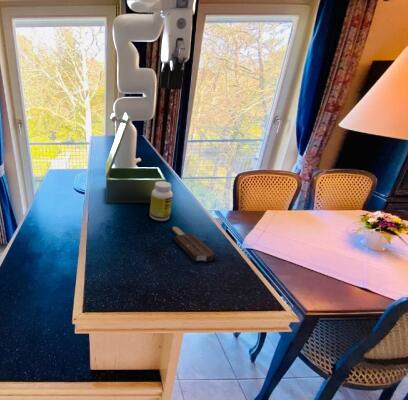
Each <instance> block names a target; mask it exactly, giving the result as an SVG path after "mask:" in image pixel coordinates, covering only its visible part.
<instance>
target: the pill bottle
mask: <svg viewBox="0 0 408 400" xmlns="http://www.w3.org/2000/svg"><path fill="white" fill-rule="evenodd" d="M171 189H172V184H171V182H167V181H166V182H164V181H159V182H156V183H155V189H154V190H153V191H152V195H151V203H150V206H149V217H150V218H151V219H153V220H155V221H160V222H164V221H165V222H166V221H167V220H169V219H170V217H171V210H172V202H173V195H174V194H173V191H172V190H171Z"/></svg>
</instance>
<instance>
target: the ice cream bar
mask: <svg viewBox="0 0 408 400" xmlns="http://www.w3.org/2000/svg"><path fill="white" fill-rule="evenodd" d="M171 229H172V231H173V232H174V233H175V234H176V235H174V238H173V240H174V242H175V243H176V244H177V245H178V246H179V247H180V248H181V249H182V250H183V251H184V252H185V253H186V254H187V256H189V257H190V258H191V260H192V261H193V262H200V261H202V262H205V263H208V262H211V261H213V260H214V258H215V252H214V251H213V250H212V249H211V248H210V247H209V246H208V245H207V244H205V243H204V242H203V241H202V240H201V239H200V238H199V237H198V236H196V234H194V233H193V232H190V233H184V231H182V230H181V229H180V228H179V227H177V226H172V228H171Z"/></svg>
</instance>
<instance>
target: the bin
mask: <svg viewBox="0 0 408 400" xmlns="http://www.w3.org/2000/svg"><path fill="white" fill-rule="evenodd" d="M159 181H164V182H167V180H166V178H165V175H164V174H163V173H162V171H161V169H160V168H159V167H138V168H132V167H112V169H111V171H110V174H109V177H108V178H106V177H105V203H106V204H151V195H152V191H153V190H154V189H155V183H156V182H159Z"/></svg>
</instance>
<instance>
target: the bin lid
mask: <svg viewBox="0 0 408 400" xmlns="http://www.w3.org/2000/svg"><path fill="white" fill-rule="evenodd" d="M110 120H111V122H113V123H115V121H118V122H121V124H120V127H119V130H118V133H117V135H116V138H115V137H114V141H113V144H112V147H111V149H110V152H109V154H108V157H107V160H106V163H105V165H104V167H105V169H104V170H105V173H104V175H105V179H106V178H108V177H109V174H110V171H111V169H112V166H113V164H115V158H116V155H117V153H118V150H119V148H120V145H121V142H122V140H123V137H124V134H125V132H126V129H127V127H128V124H129V121H130V117H129V115H128V114H127V113H126V112H125V114H124V116H123V119H122V118H119V117H116V115H115V114H114V113H111V115H110Z"/></svg>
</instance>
